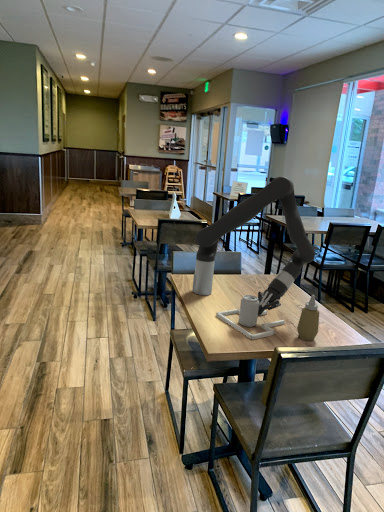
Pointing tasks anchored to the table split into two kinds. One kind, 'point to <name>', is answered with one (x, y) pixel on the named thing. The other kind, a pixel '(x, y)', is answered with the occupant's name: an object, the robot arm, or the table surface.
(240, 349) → the table surface
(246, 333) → the t outline
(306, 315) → the squeeze bottle
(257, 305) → the can
